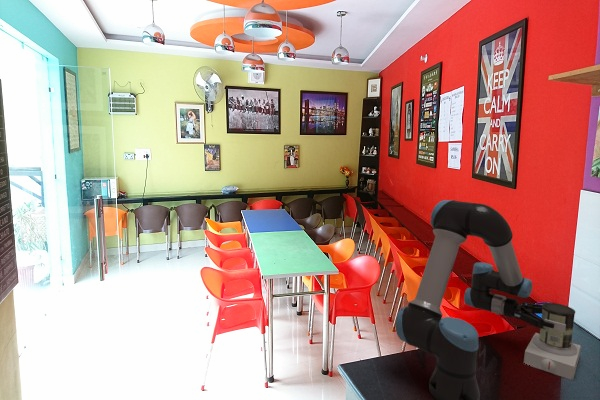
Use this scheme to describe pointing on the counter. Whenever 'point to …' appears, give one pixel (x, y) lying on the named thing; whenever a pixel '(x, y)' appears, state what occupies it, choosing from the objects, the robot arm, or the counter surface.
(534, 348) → the kitchen scale
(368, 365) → the counter surface
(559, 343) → the coffee can
